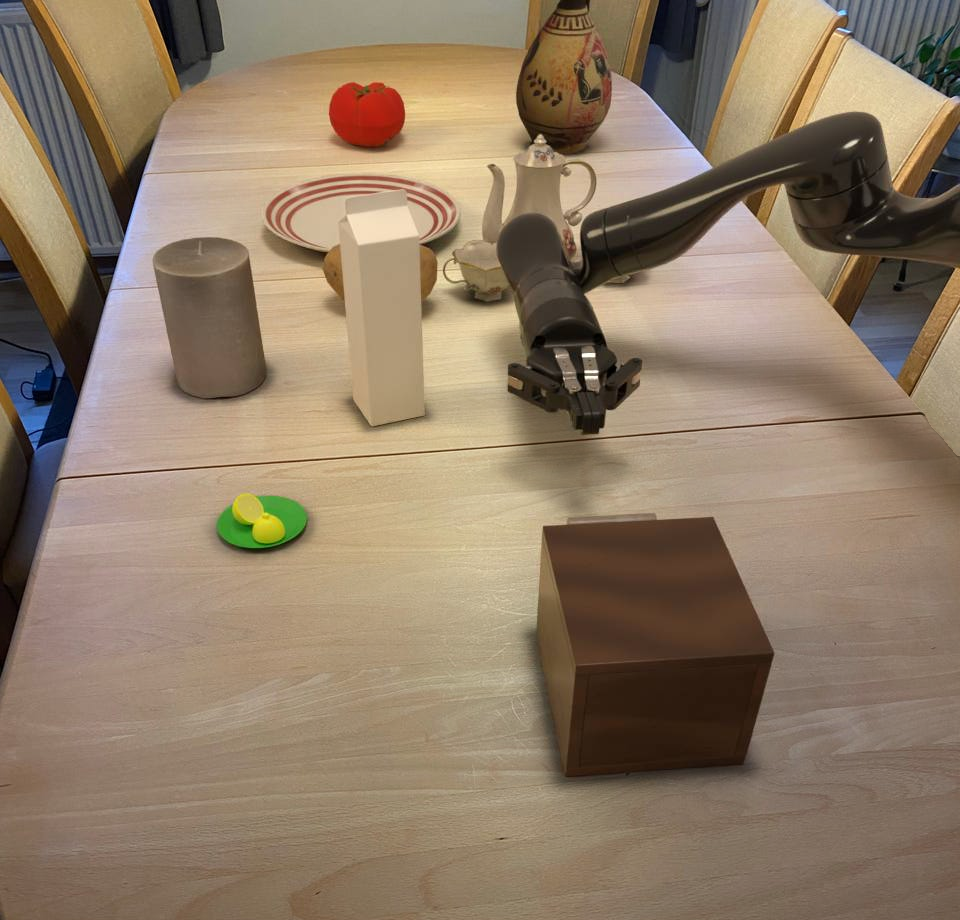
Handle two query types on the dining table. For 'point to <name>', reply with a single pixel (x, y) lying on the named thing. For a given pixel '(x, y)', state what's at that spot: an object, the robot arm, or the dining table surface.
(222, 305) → the pillar candle
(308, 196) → the dinner plate
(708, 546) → the cabinet
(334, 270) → the potato
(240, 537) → the lemon halves on plate
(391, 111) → the tomato
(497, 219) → the chinaware
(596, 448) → the dining table surface
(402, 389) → the milk
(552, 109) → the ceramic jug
